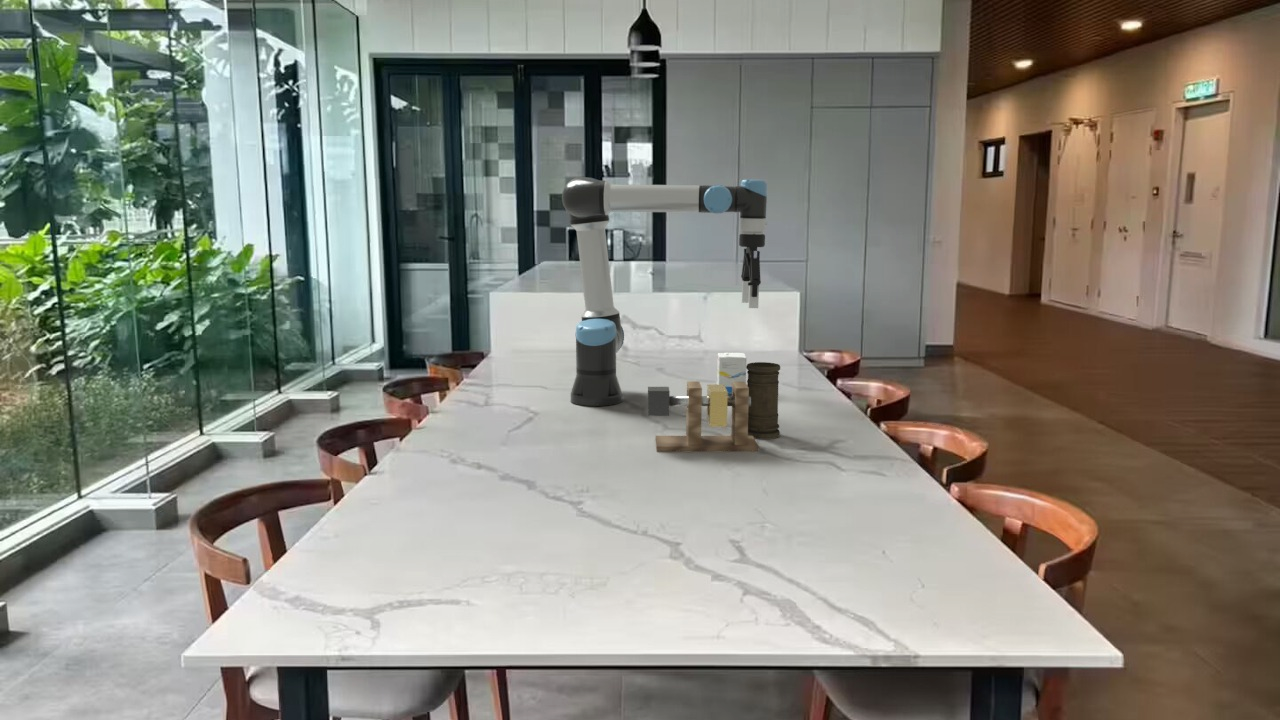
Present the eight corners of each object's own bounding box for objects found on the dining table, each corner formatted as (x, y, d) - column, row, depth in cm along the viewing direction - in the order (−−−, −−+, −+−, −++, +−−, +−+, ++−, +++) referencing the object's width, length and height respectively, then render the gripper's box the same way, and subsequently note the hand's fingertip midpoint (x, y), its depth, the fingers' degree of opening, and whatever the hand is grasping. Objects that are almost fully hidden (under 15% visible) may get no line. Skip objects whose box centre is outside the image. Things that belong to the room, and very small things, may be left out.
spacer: (709, 426, 217) (710, 391, 215) (706, 418, 225) (707, 384, 224) (726, 426, 217) (727, 391, 215) (723, 418, 225) (723, 384, 224)
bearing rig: (656, 451, 217) (657, 389, 214) (655, 440, 227) (655, 380, 224) (758, 451, 217) (760, 389, 215) (752, 440, 227) (754, 380, 224)
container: (778, 440, 227) (781, 368, 224) (742, 438, 229) (743, 367, 226) (780, 431, 236) (782, 362, 233) (745, 429, 238) (747, 360, 235)
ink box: (746, 395, 279) (747, 357, 277) (718, 394, 280) (718, 356, 278) (743, 389, 288) (744, 352, 286) (716, 389, 288) (717, 352, 286)
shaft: (648, 415, 218) (648, 391, 217) (647, 410, 223) (647, 386, 222) (751, 415, 218) (752, 391, 217) (748, 411, 223) (749, 386, 222)
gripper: (772, 235, 258) (769, 310, 262) (758, 231, 283) (755, 300, 286) (746, 234, 258) (743, 310, 262) (733, 231, 282) (731, 300, 286)
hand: (749, 305), depth 274 cm, fingers open, 13 cm apart
